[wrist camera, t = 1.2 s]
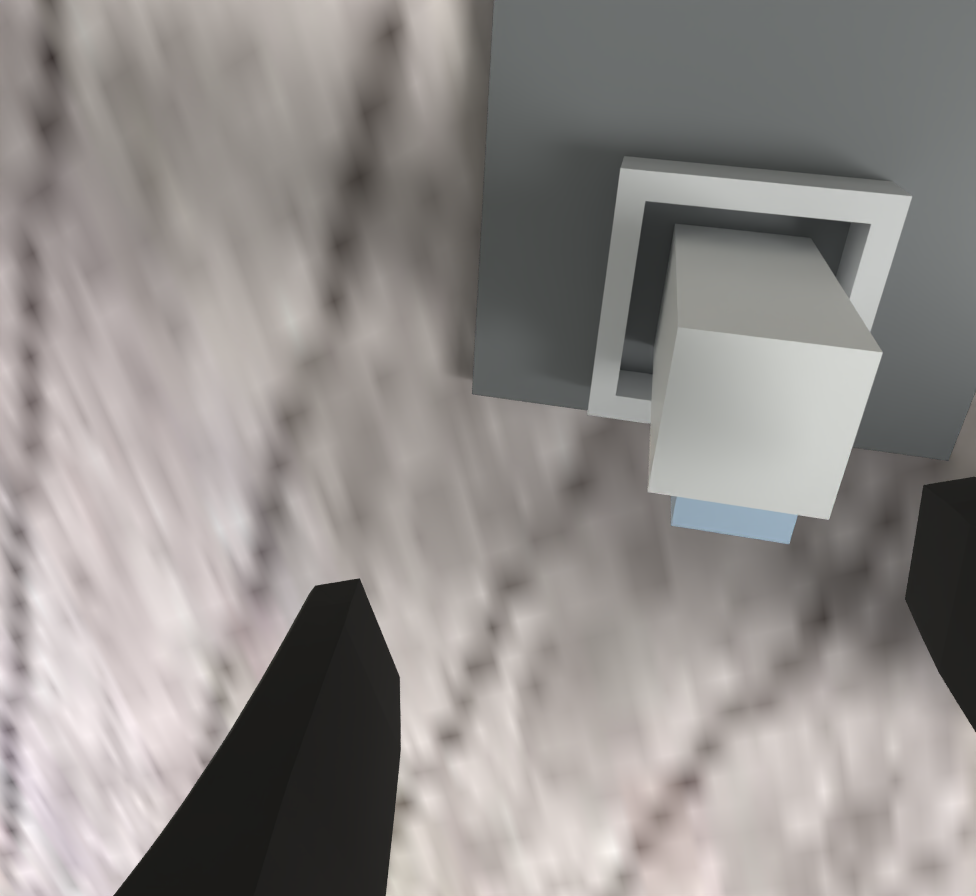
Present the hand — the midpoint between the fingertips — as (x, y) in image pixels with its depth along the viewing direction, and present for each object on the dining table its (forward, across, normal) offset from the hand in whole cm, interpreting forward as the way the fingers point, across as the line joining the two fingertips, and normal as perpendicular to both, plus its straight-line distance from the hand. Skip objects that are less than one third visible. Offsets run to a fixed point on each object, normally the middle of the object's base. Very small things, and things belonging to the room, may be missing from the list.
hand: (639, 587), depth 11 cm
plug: (+10, -4, +1) cm, 11 cm away
